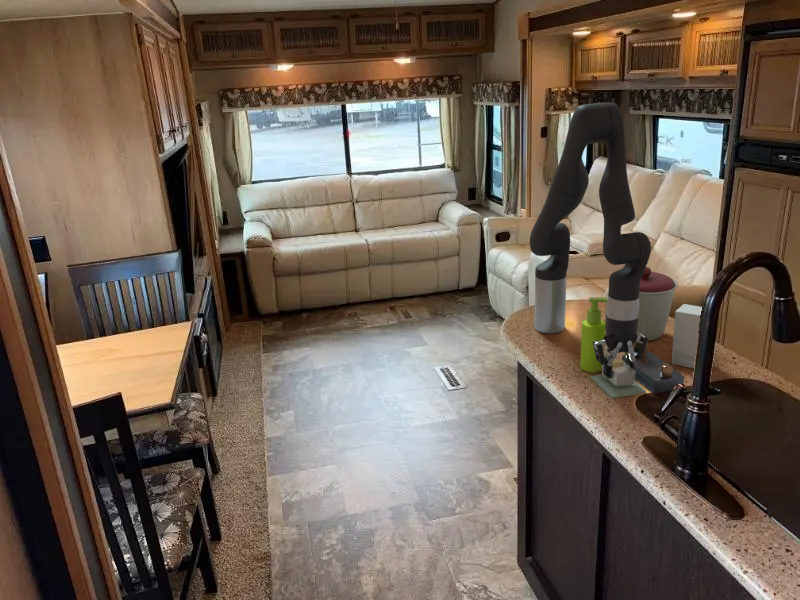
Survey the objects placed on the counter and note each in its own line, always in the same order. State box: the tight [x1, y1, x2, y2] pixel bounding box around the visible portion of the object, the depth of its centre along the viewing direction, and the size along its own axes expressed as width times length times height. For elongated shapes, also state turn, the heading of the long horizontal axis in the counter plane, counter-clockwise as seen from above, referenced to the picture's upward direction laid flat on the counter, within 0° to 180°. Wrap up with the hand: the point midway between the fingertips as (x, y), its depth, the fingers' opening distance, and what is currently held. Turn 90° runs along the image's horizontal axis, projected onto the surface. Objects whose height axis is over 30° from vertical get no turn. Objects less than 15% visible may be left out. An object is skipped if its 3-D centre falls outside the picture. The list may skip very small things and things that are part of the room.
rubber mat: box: [590, 373, 647, 399], centre depth 156 cm, size 11×9×1 cm
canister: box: [637, 266, 679, 341], centre depth 179 cm, size 18×18×21 cm
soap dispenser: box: [579, 296, 608, 373], centre depth 162 cm, size 6×7×20 cm
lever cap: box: [601, 357, 636, 386], centre depth 154 cm, size 7×5×4 cm
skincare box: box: [671, 303, 703, 369], centre depth 161 cm, size 8×7×16 cm
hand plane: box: [621, 340, 685, 395], centre depth 157 cm, size 15×8×8 cm, turn 11°
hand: (617, 375), depth 155 cm, fingers closed on lever cap, 5 cm apart
